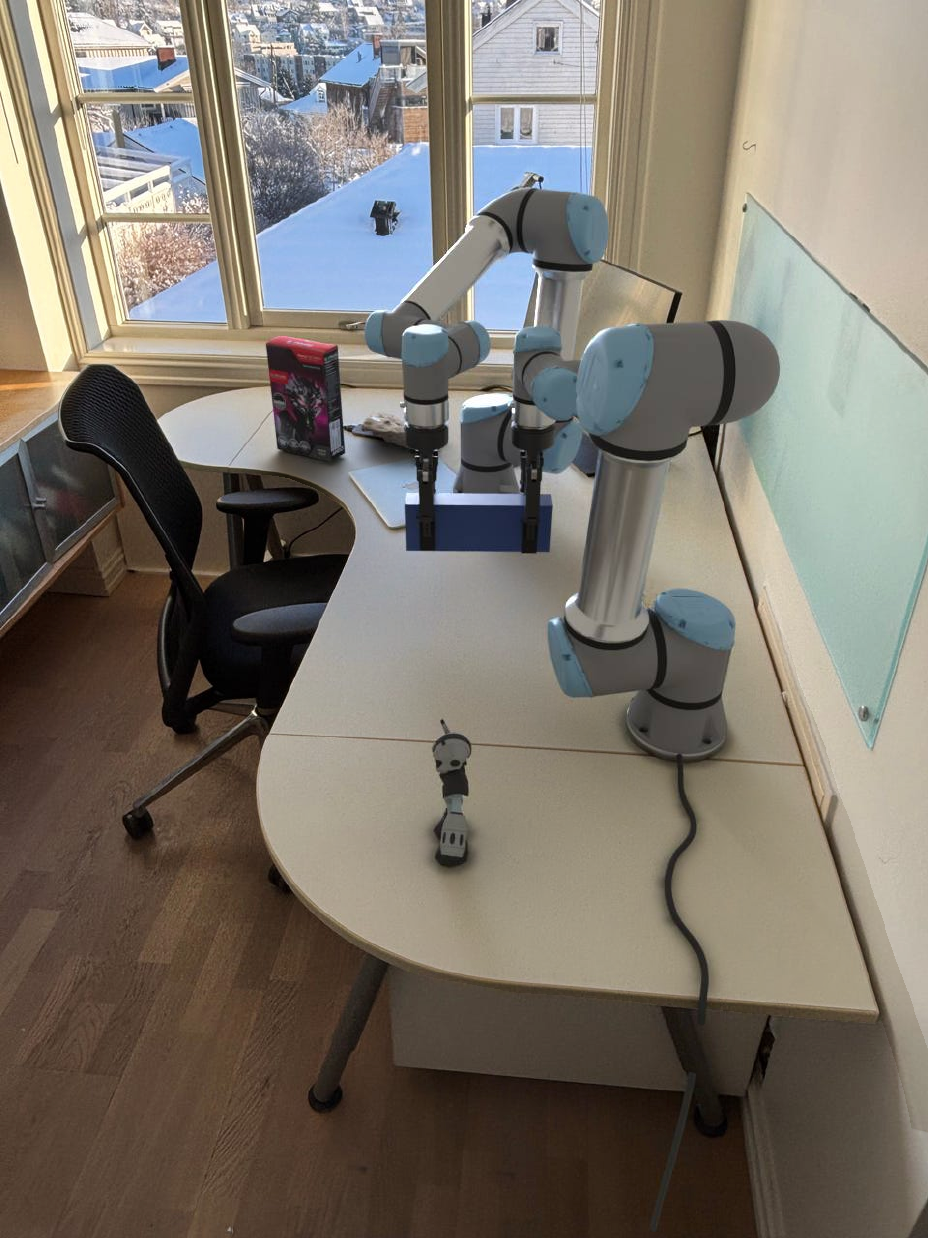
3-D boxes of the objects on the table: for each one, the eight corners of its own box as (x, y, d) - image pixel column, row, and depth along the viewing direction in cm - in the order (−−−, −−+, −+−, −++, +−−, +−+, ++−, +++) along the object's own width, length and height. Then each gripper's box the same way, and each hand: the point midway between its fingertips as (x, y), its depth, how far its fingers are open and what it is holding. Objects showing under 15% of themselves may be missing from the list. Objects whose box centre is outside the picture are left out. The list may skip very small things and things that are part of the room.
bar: (547, 540, 171) (550, 494, 165) (549, 552, 167) (552, 505, 162) (407, 538, 171) (406, 492, 165) (406, 551, 167) (404, 504, 162)
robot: (474, 902, 115) (476, 785, 104) (435, 903, 115) (433, 787, 104) (466, 791, 132) (467, 679, 120) (432, 792, 131) (430, 680, 120)
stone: (345, 437, 230) (349, 413, 227) (367, 428, 243) (371, 405, 241) (423, 461, 226) (429, 437, 224) (441, 451, 239) (446, 428, 237)
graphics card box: (274, 450, 230) (262, 341, 215) (291, 440, 235) (280, 333, 220) (331, 464, 224) (323, 352, 209) (347, 453, 229) (340, 344, 214)
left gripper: (406, 402, 163) (410, 519, 176) (400, 441, 148) (404, 566, 161) (449, 402, 163) (449, 520, 176) (447, 442, 148) (447, 567, 161)
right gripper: (509, 398, 164) (504, 511, 177) (513, 447, 146) (508, 569, 159) (551, 399, 164) (544, 511, 177) (561, 448, 146) (552, 570, 159)
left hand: (428, 542), depth 168 cm, fingers closed on bar, 4 cm apart
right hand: (527, 539), depth 168 cm, fingers open, 9 cm apart
